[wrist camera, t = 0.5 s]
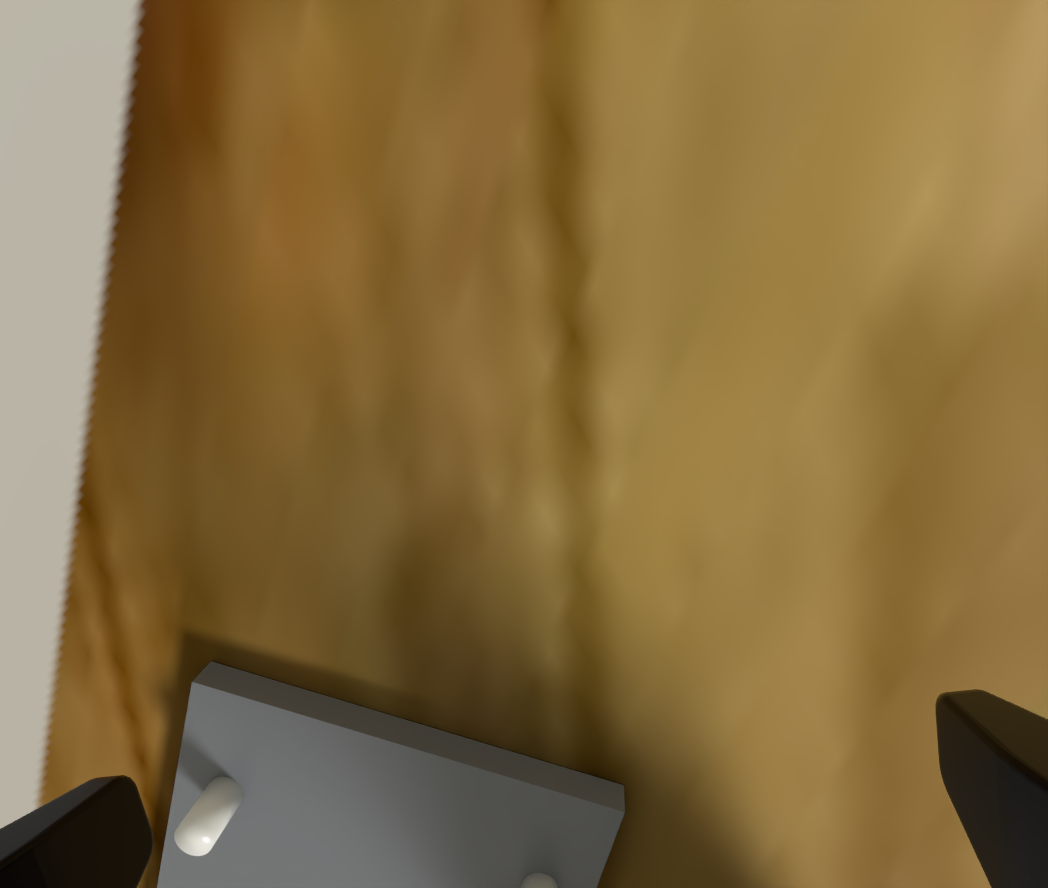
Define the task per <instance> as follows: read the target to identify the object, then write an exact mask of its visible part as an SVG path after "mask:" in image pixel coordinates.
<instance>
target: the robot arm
mask: <svg viewBox="0 0 1048 888" xmlns="http://www.w3.org/2000/svg"><path fill="white" fill-rule="evenodd" d="M936 724H937V738H938V752H939V764H940V770H941V775H942V779H943V782H944V785H945V788H946V790H947V792H948V795H949V797H950V799H951V801H952V803H953V805H954V808H955V810H956V812H957V814H958V816H959V818H960V821H961V823H962V825H963V827H964V829H965V831H966V834H967V836H968V838H969V840H970V842H971V844H972V846H973V849H974V851H975V853H976V855H977V857H978V859H979V862H980V864H981V866H982V868H983V870H984V872H985V875H986V877H987V879H988V881H989V883H990V885H991V888H1048V719H1046V718H1043V717H1041V716H1039V715H1037V714H1035V713H1032V712H1030V711H1028V710H1026V709H1024V708H1021V707H1019V706H1017V705H1015V704H1013V703H1010V702H1008V701H1006V700H1004V699H1001V698H999V697H997V696H995V695H993V694H990V693H988V692H986V691H983V690H977V689H975V690H965V691H956V692H946V693H942V694H940V695H939V696H938V698H937V700H936ZM152 847H153V834H152V830H151V827H150V824H149V821H148V818H147V815H146V812H145V809H144V807H143V804H142V801H141V798H140V795H139V792H138V789H137V786H136V784H135V782H134V781H133V780H132V779H131V778H130V777H127V776H124V775H121V776H110V777H100V778H95V779H92V780H89V781H87V782H85V783H84V784H82V785H80V786H78V787H76V788H74V789H73V790H71V791H69V792H67V793H65V794H63V795H62V796H60V797H58V798H56V799H54V800H53V801H51V802H49V803H47V804H45V805H43V806H42V807H40V808H38V809H36V810H34V811H32V812H31V813H29V814H27V815H25V816H23V817H22V818H20V819H18V820H16V821H14V822H13V823H11V824H9V825H7V826H5V827H3V828H1V829H0V888H137V886H138V884H139V881H140V879H141V877H142V875H143V872H144V870H145V868H146V866H147V863H148V861H149V859H150V856H151V852H152Z"/></svg>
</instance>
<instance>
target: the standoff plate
mask: <svg viewBox="0 0 1048 888" xmlns="http://www.w3.org/2000/svg"><path fill="white" fill-rule="evenodd" d="M624 814H625V799H624V785H621V784H618V783H615V782H611V781H608V780H605V779H601V778H598V777H595V776H591V775H588V774H585V773H581V772H578V771H575V770H571V769H568V768H565V767H561V766H558V765H555V764H551V763H548V762H545V761H541V760H538V759H535V758H531V757H528V756H525V755H521V754H518V753H515V752H511V751H508V750H505V749H501V748H498V747H495V746H491V745H488V744H485V743H481V742H478V741H475V740H471V739H468V738H465V737H461V736H458V735H455V734H452V733H448V732H445V731H442V730H438V729H435V728H432V727H428V726H425V725H422V724H418V723H415V722H412V721H408V720H405V719H402V718H398V717H395V716H392V715H388V714H385V713H382V712H378V711H375V710H372V709H368V708H365V707H362V706H358V705H355V704H352V703H348V702H345V701H342V700H338V699H335V698H332V697H328V696H325V695H322V694H318V693H315V692H312V691H308V690H305V689H302V688H298V687H295V686H292V685H288V684H285V683H282V682H278V681H275V680H272V679H269V678H265V677H262V676H259V675H255V674H252V673H249V672H245V671H242V670H239V669H235V668H232V667H229V666H225V665H222V664H219V663H215V662H212V661H211V662H210V663H209V664H208V665H207V666H206V667H205V668H204V669H203V670H202V671H201V672H200V674H199V675H198V676H197V677H196V678H195V679H194V680H193V681H192V684H191V690H190V696H189V702H188V707H187V713H186V719H185V725H184V731H183V737H182V743H181V749H180V754H179V760H178V766H177V772H176V778H175V784H174V790H173V796H172V801H171V807H170V813H169V819H168V825H167V831H166V837H165V843H164V848H163V854H162V860H161V866H160V872H159V878H158V884H157V888H597V885H598V883H599V880H600V877H601V875H602V872H603V869H604V867H605V864H606V861H607V859H608V856H609V853H610V851H611V848H612V846H613V843H614V840H615V838H616V835H617V832H618V830H619V827H620V824H621V822H622V819H623V816H624Z"/></svg>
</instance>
